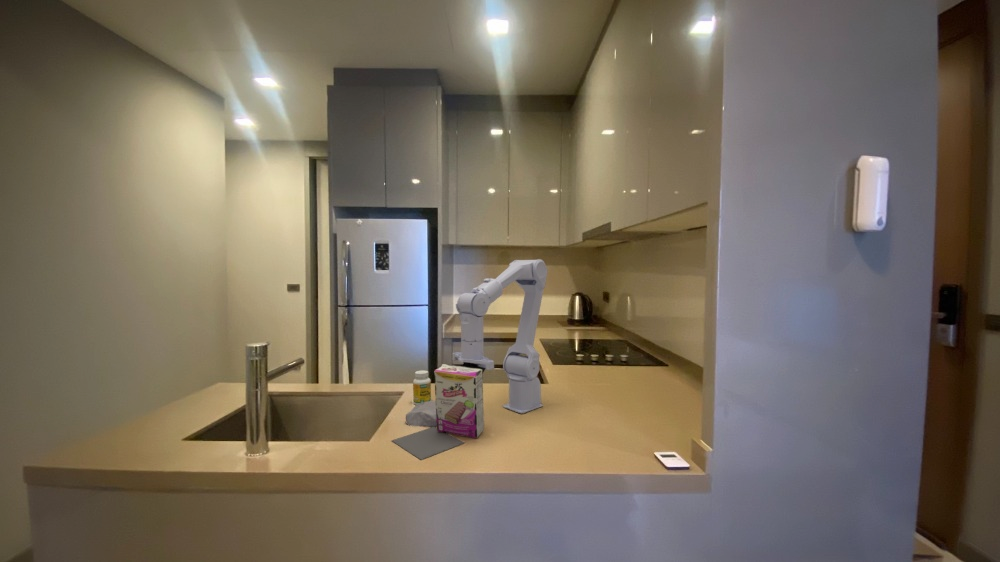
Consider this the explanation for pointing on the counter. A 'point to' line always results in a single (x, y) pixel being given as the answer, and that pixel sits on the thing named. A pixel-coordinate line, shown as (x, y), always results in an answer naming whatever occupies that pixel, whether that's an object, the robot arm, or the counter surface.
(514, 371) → the robot arm
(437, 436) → the mat
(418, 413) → the stone block
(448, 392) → the candy bar box
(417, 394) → the supplement bottle
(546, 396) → the counter surface
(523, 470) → the counter surface
